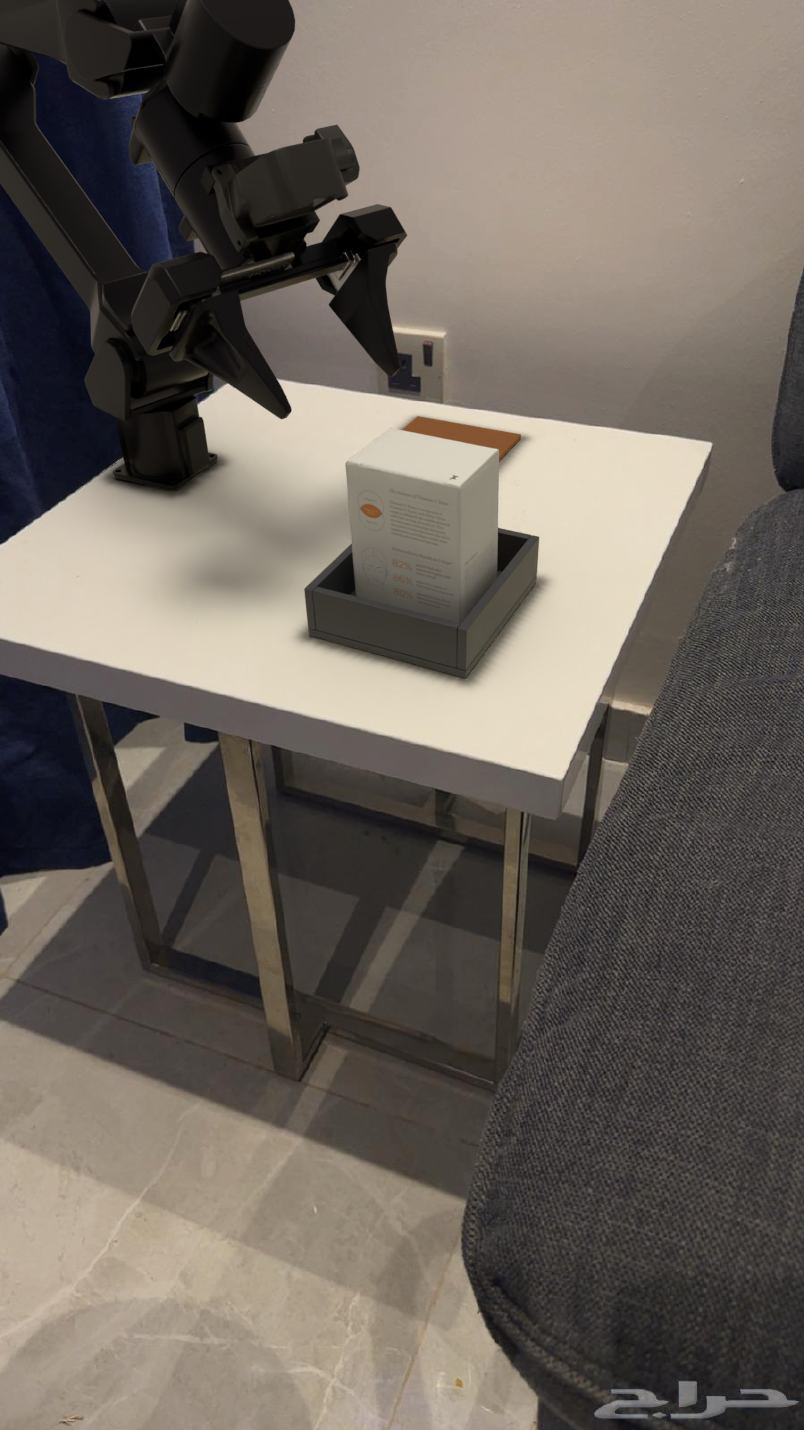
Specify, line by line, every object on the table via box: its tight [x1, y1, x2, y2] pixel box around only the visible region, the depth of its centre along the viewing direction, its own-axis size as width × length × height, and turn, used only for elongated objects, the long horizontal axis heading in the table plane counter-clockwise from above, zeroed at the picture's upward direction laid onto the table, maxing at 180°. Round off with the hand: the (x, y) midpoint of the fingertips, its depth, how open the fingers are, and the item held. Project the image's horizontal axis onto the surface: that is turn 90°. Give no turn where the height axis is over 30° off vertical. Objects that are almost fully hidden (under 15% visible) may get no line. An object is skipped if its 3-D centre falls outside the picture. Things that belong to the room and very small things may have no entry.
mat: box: [401, 415, 522, 462], centre depth 88 cm, size 10×9×1 cm
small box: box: [345, 427, 500, 623], centre depth 66 cm, size 8×6×10 cm
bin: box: [303, 527, 540, 679], centre depth 68 cm, size 11×12×4 cm
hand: (343, 393), depth 65 cm, fingers open, 9 cm apart
